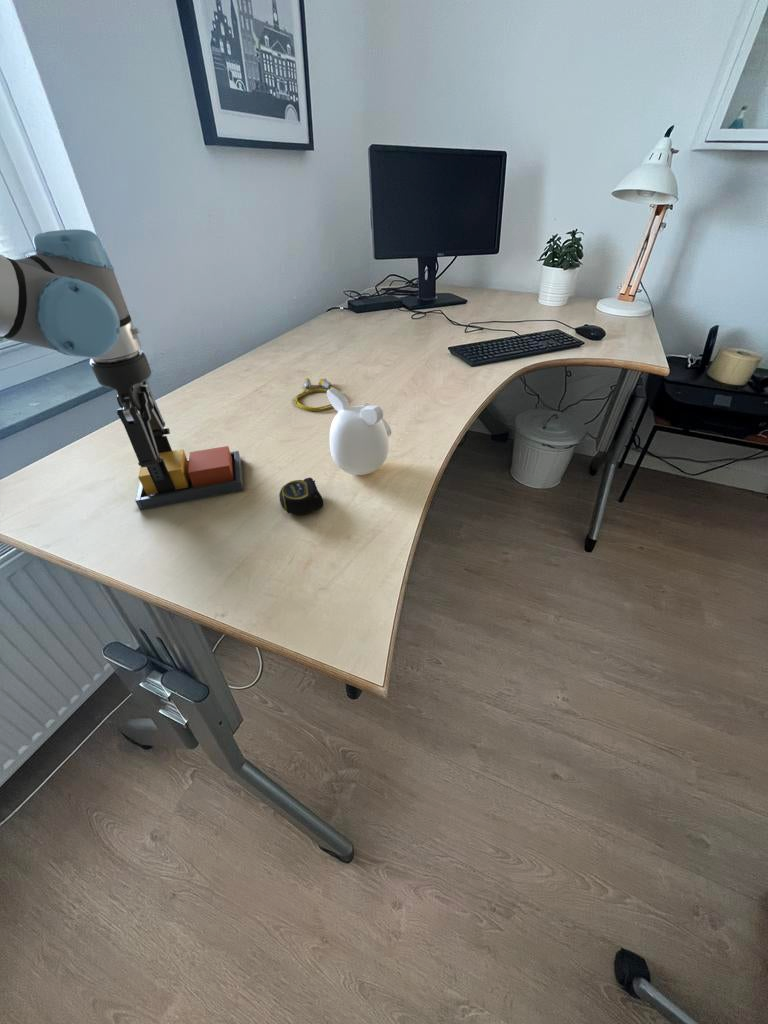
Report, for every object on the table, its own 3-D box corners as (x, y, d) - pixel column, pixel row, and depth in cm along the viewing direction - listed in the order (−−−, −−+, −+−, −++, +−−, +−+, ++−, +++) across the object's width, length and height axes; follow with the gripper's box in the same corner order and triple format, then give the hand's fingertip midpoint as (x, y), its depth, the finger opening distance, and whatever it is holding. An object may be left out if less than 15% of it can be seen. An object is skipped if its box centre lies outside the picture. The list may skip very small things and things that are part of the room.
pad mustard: (146, 495, 76) (137, 476, 73) (151, 473, 81) (142, 455, 79) (188, 487, 77) (181, 469, 75) (190, 466, 83) (183, 448, 80)
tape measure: (326, 513, 73) (323, 496, 71) (285, 523, 72) (282, 505, 69) (316, 490, 78) (314, 473, 76) (278, 499, 77) (274, 482, 74)
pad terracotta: (194, 490, 78) (187, 472, 76) (196, 469, 83) (189, 452, 81) (234, 483, 80) (229, 465, 77) (233, 463, 85) (228, 445, 82)
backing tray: (139, 509, 75) (135, 501, 74) (146, 475, 83) (143, 466, 82) (243, 490, 79) (240, 481, 77) (240, 459, 87) (238, 450, 86)
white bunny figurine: (402, 459, 86) (403, 387, 76) (375, 492, 78) (372, 416, 68) (348, 445, 90) (342, 376, 80) (317, 475, 82) (306, 402, 72)
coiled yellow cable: (351, 385, 113) (351, 378, 111) (334, 414, 101) (334, 406, 99) (306, 383, 114) (305, 375, 113) (285, 410, 103) (284, 402, 101)
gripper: (134, 376, 58) (187, 508, 73) (150, 330, 72) (192, 448, 87) (71, 384, 56) (139, 517, 71) (101, 335, 71) (152, 454, 86)
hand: (168, 479), depth 79 cm, fingers closed on pad mustard, 7 cm apart
